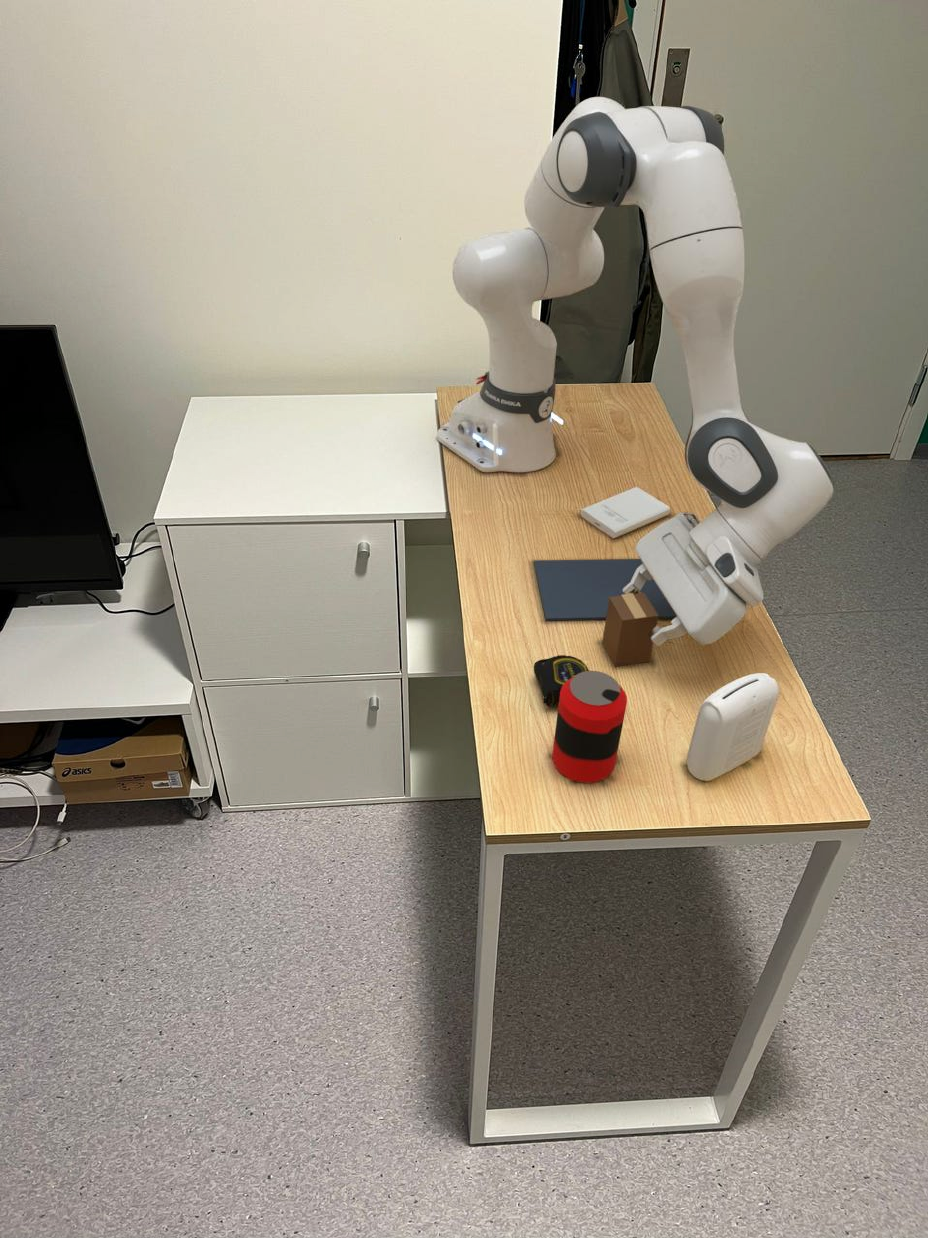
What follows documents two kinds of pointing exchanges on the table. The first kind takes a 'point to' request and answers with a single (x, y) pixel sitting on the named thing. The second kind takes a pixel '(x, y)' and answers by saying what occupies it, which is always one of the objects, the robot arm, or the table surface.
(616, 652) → the box
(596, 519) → the hard drive
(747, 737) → the photo printer
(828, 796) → the table surface
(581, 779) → the soda can
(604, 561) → the desk mat
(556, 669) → the tape measure
